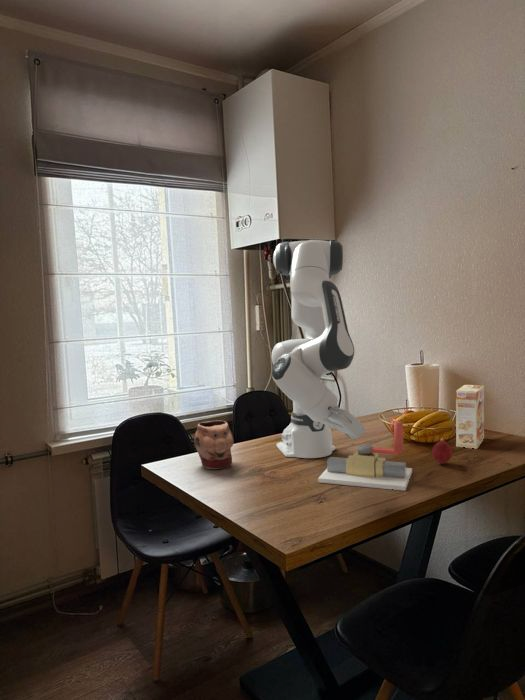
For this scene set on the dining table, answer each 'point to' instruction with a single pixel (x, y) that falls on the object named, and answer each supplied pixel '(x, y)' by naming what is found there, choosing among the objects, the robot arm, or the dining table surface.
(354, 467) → the valve and pipe
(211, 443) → the decorative planter
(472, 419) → the coffeecake box
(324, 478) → the mounting board
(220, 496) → the dining table surface
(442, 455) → the onion
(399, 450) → the lever
